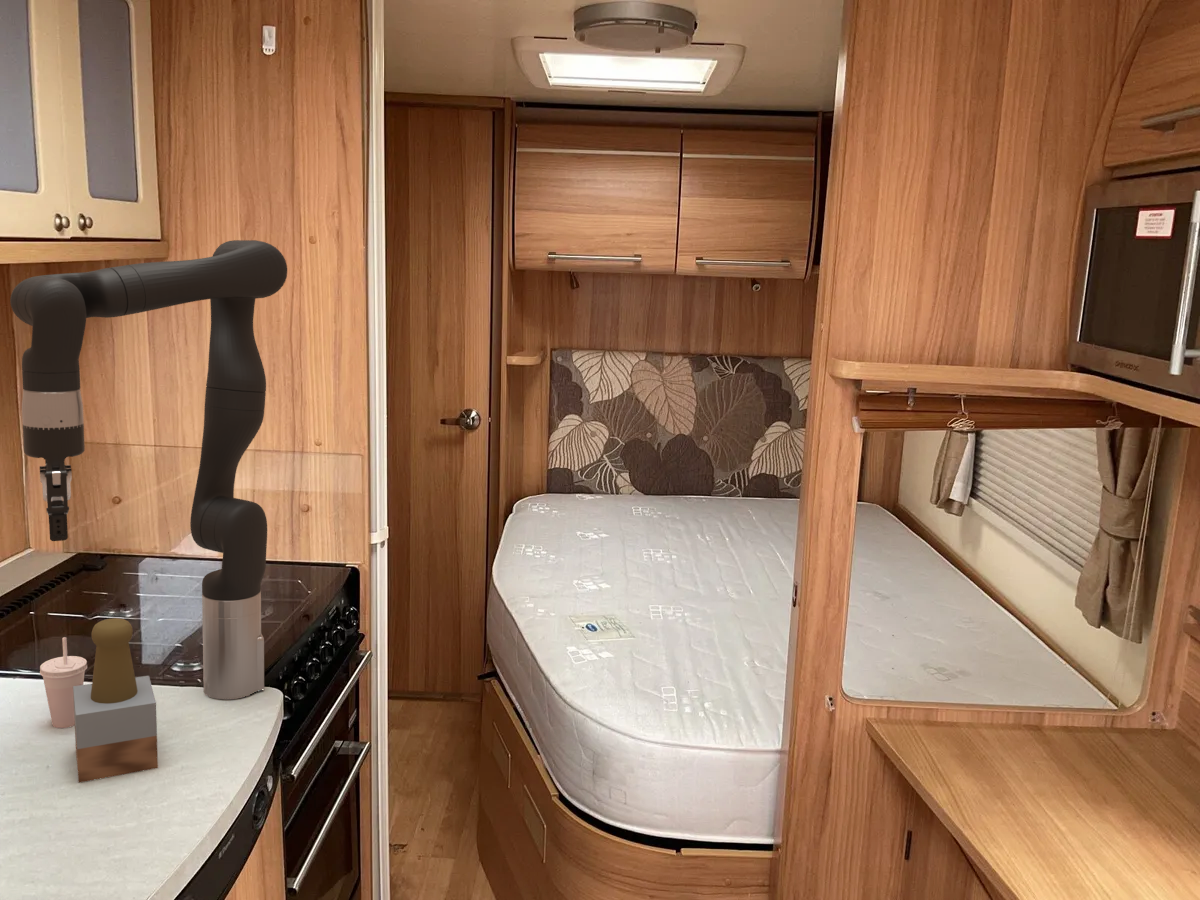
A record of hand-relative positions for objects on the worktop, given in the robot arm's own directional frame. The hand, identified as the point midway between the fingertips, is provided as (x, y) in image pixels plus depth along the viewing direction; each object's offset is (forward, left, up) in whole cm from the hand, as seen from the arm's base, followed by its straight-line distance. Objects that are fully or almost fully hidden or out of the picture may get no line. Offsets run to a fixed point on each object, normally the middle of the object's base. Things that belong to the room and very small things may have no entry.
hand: (58, 532), depth 139 cm
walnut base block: (-6, +9, -32) cm, 34 cm away
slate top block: (-6, +9, -27) cm, 29 cm away
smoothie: (0, -6, -32) cm, 33 cm away
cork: (-6, +9, -22) cm, 25 cm away
